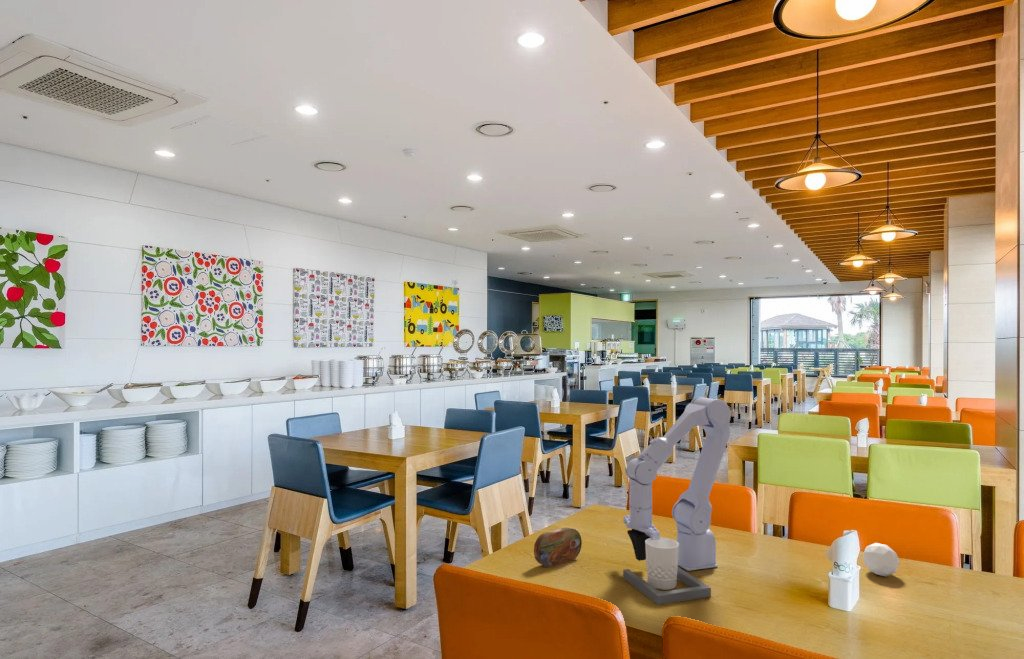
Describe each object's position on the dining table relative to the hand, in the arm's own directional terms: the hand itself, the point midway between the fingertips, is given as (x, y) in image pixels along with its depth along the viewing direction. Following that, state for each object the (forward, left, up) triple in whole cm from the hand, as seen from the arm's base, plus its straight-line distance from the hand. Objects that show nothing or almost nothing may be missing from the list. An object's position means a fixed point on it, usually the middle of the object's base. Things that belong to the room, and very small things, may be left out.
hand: (640, 559), depth 148 cm
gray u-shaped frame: (0, +11, -2) cm, 12 cm away
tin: (+19, -11, -3) cm, 22 cm away
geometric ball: (-56, +21, -3) cm, 60 cm away
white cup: (0, +10, -3) cm, 10 cm away
